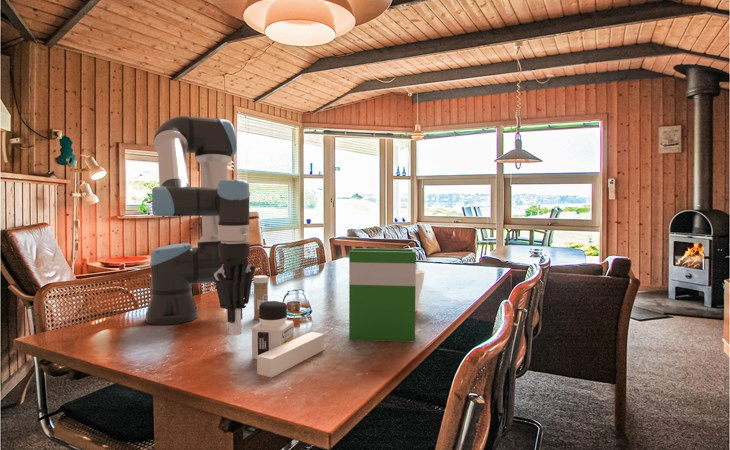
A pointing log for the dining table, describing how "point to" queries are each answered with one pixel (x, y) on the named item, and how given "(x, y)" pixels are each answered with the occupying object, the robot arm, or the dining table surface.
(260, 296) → the sprinkles bottle
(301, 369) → the dining table surface
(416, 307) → the cup
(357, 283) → the hardback book
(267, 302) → the container
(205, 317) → the dining table surface
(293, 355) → the white rectangular bar
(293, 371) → the dining table surface
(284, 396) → the dining table surface
